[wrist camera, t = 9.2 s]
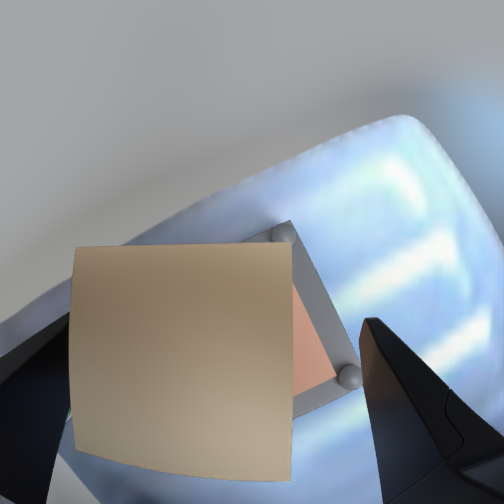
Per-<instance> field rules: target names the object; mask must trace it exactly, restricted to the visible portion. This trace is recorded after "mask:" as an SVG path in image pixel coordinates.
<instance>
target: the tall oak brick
mask: <svg viewBox="0 0 504 504" xmlns="http://www.w3.org/2000/svg"><path fill="white" fill-rule="evenodd" d="M69 381H70V399H71V412H72V422H73V431H74V440H75V447H76V450H78V451H81V452H84V453H87V454H90V455H93V456H97V457H100V458H104V459H107V460H111V461H115V462H119V463H123V464H127V465H131V466H136V467H140V468H145V469H150V470H155V471H160V472H166V473H172V474H178V475H185V476H193V477H201V478H210V479H222V480H236V481H266V482H278V481H290V477H291V452H292V417H293V282H292V245H291V242H268V243H217V244H173V245H135V246H101V247H76V249H75V257H74V266H73V276H72V287H71V300H70V319H69Z"/></svg>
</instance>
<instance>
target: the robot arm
mask: <svg viewBox="0 0 504 504" xmlns="http://www.w3.org/2000/svg"><path fill="white" fill-rule="evenodd" d="M69 319H70V312H68V313H66V314H65V315H63V316H62V317H60V318H59V319H57V320H56V321H54V322H53V323H51V324H50V325H48V326H47V327H45V328H44V329H42V330H41V331H39V332H38V333H36V334H35V335H33V336H32V337H30V338H29V339H27V340H26V341H24V342H23V343H21V344H20V345H19V346H17V347H16V348H14V349H13V350H11V351H10V352H8V353H7V354H6V355H4V356H3V357H1V358H0V504H46V501H47V495H48V491H49V486H50V481H51V477H52V472H53V470H52V469H53V468H54V463H55V459H56V455H57V452H58V448H59V444H60V440H61V437H62V433H63V430H64V426H65V423H66V420H67V416H68V413H69V410H70V407H71V399H70V381H69ZM359 349H360V358H361V368H362V378H363V388H364V393H365V398H366V403H367V408H368V413H369V418H370V423H371V429H372V434H373V440H374V446H375V452H376V458H377V464H378V470H379V477H380V484H381V491H382V499H383V504H504V436H502V435H501V434H500V433H499V432H498V431H496V430H495V429H494V428H493V427H492V426H491V425H489V424H488V423H487V422H486V421H485V420H483V419H482V418H481V417H480V416H479V415H478V414H476V413H475V412H474V411H473V410H472V409H471V408H470V407H469V406H468V405H467V404H466V403H465V402H463V401H462V400H461V399H460V398H459V397H458V396H457V395H456V394H455V393H454V392H453V390H452V389H449V387H448V386H447V385H446V383H445V382H444V381H443V380H442V379H441V378H440V377H439V376H438V375H437V374H436V373H435V372H434V371H433V370H432V369H431V368H430V367H429V366H428V365H427V364H426V363H425V362H424V361H423V360H422V359H421V358H420V357H419V356H417V355H416V354H415V353H414V352H413V351H412V350H411V349H410V348H409V347H408V346H407V345H406V344H405V343H404V342H403V341H402V340H401V339H400V338H399V337H398V336H397V335H396V334H395V333H394V332H393V331H392V330H391V329H390V328H389V327H388V326H387V325H386V324H384V323H383V322H382V321H381V320H380V319H379V318H377V317H371V318H365V319H364V321H363V325H362V329H361V333H360V337H359Z"/></svg>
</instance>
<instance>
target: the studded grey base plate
mask: <svg viewBox="0 0 504 504" xmlns="http://www.w3.org/2000/svg"><path fill="white" fill-rule="evenodd" d="M268 242H291V245H292V282H293V417H292V420H293V419H295V418H297V417H299V416H302V415H304V414H306V413H308V412H311V411H313V410H315V409H317V408H319V407H321V406H323V405H325V404H327V403H330V402H332V401H334V400H336V399H338V398H340V397H341V396H343V395H345V394H347V393H349V392H351V391H353V390H356V389H358V388H359V387H360V386H362V385H363V378H362V368H361V364H360V361H359V359H358V357H357V355H356V353H355V350H354V348H353V346H352V344H351V342H350V339H349V337H348V335H347V333H346V331H345V329H344V327H343V324H342V322H341V320H340V318H339V316H338V314H337V312H336V310H335V308H334V306H333V304H332V301H331V299H330V297H329V295H328V293H327V291H326V289H325V287H324V285H323V283H322V281H321V279H320V277H319V275H318V273H317V271H316V269H315V267H314V265H313V263H312V261H311V259H310V257H309V255H308V253H307V251H306V249H305V247H304V245H303V243H302V241H301V239H300V237H299V235H298V234H297V232H296V230H295V228H294V226H293V224H292V222H291V220H288V221H286V222H284V223H281V224H278V225H276V226H275V227H273V228H271V229H269V230H266V231H264V232H262V233H260V234H258V235H255V236H253V237H251V238H249V239H247V240H244V241H242V242H240V243H268Z"/></svg>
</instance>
